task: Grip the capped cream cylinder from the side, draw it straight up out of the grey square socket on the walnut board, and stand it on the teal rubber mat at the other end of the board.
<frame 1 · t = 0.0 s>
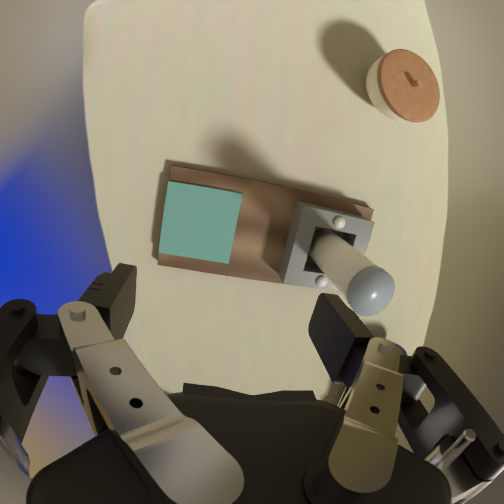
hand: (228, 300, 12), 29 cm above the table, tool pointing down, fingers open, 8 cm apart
base board: (268, 232, 42), on the table
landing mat: (199, 220, 40), resting on base board
grey square socket: (319, 242, 44), resting on base board
capped cream cylinder: (321, 244, 43), point 1 cm above the table, touching base board
lidded jar: (383, 91, 37), on the table
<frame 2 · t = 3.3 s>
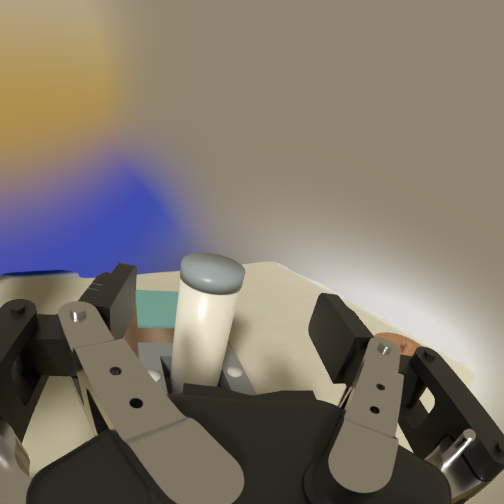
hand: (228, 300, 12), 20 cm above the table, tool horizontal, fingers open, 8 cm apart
base board: (177, 357, 36), on the table
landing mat: (167, 315, 44), resting on base board
grey square socket: (190, 403, 29), resting on base board
capped cream cylinder: (191, 396, 29), point 1 cm above the table, touching base board
lidded jar: (379, 395, 36), on the table
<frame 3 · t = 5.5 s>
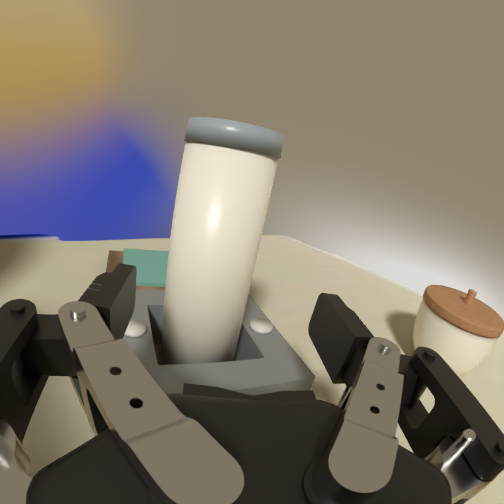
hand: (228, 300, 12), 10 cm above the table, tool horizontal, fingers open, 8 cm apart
base board: (174, 322, 27), on the table
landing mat: (162, 277, 35), resting on base board
grey square socket: (193, 381, 20), resting on base board
capped cream cylinder: (195, 369, 19), point 1 cm above the table, touching base board
lidded jar: (436, 365, 27), on the table
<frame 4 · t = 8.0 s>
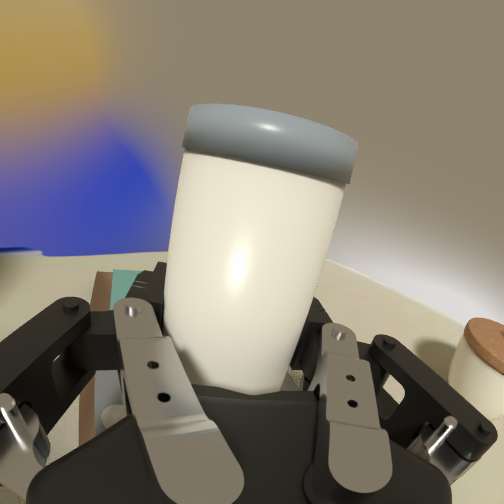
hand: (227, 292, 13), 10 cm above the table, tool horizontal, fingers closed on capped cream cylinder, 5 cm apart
base board: (174, 373, 20), on the table
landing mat: (158, 306, 29), resting on base board
grey square socket: (201, 461, 14), resting on base board
capped cream cylinder: (203, 451, 13), point 1 cm above the table, touching base board, gripper
lidded jar: (469, 406, 20), on the table
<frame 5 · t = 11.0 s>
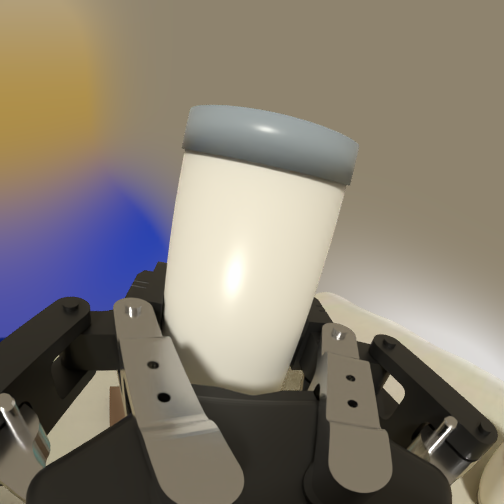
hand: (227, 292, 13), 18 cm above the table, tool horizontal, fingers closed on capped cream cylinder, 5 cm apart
capped cream cylinder: (203, 452, 13), point 9 cm above the table, touching gripper
lidded jar: (493, 497, 12), on the table
when the fingers open (12 cm above the table, at t = 14.1 s): capped cream cylinder drops 1 cm, resting on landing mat.
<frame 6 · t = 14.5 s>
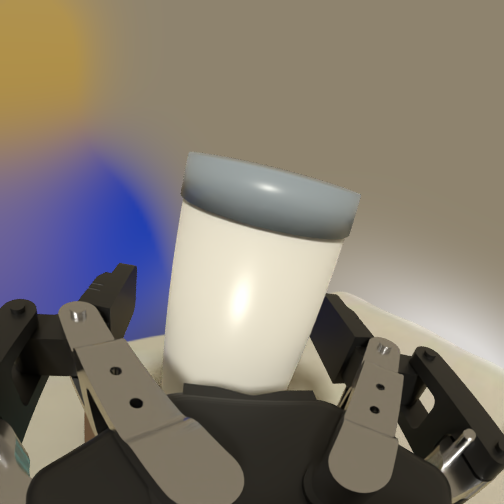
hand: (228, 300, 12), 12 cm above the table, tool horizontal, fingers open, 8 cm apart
capped cream cylinder: (202, 462, 14), point 2 cm above the table, touching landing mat
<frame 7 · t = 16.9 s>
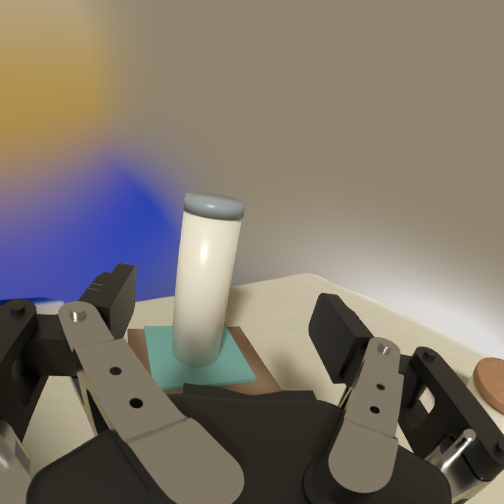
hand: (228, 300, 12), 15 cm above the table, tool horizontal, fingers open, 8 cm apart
base board: (222, 434, 21), on the table
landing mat: (193, 363, 30), resting on base board
capped cream cylinder: (195, 352, 29), point 2 cm above the table, touching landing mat
lidded jar: (474, 433, 21), on the table
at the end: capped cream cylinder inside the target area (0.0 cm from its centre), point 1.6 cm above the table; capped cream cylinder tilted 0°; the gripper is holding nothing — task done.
